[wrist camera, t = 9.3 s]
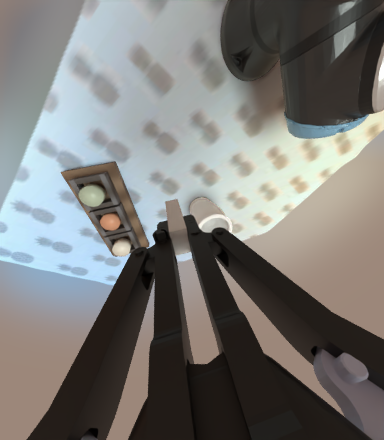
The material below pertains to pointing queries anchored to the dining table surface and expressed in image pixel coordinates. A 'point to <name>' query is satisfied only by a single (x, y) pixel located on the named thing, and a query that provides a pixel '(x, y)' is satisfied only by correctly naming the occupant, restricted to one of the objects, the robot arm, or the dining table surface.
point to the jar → (209, 215)
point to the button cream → (121, 247)
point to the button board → (109, 203)
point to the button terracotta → (110, 221)
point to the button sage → (92, 195)
